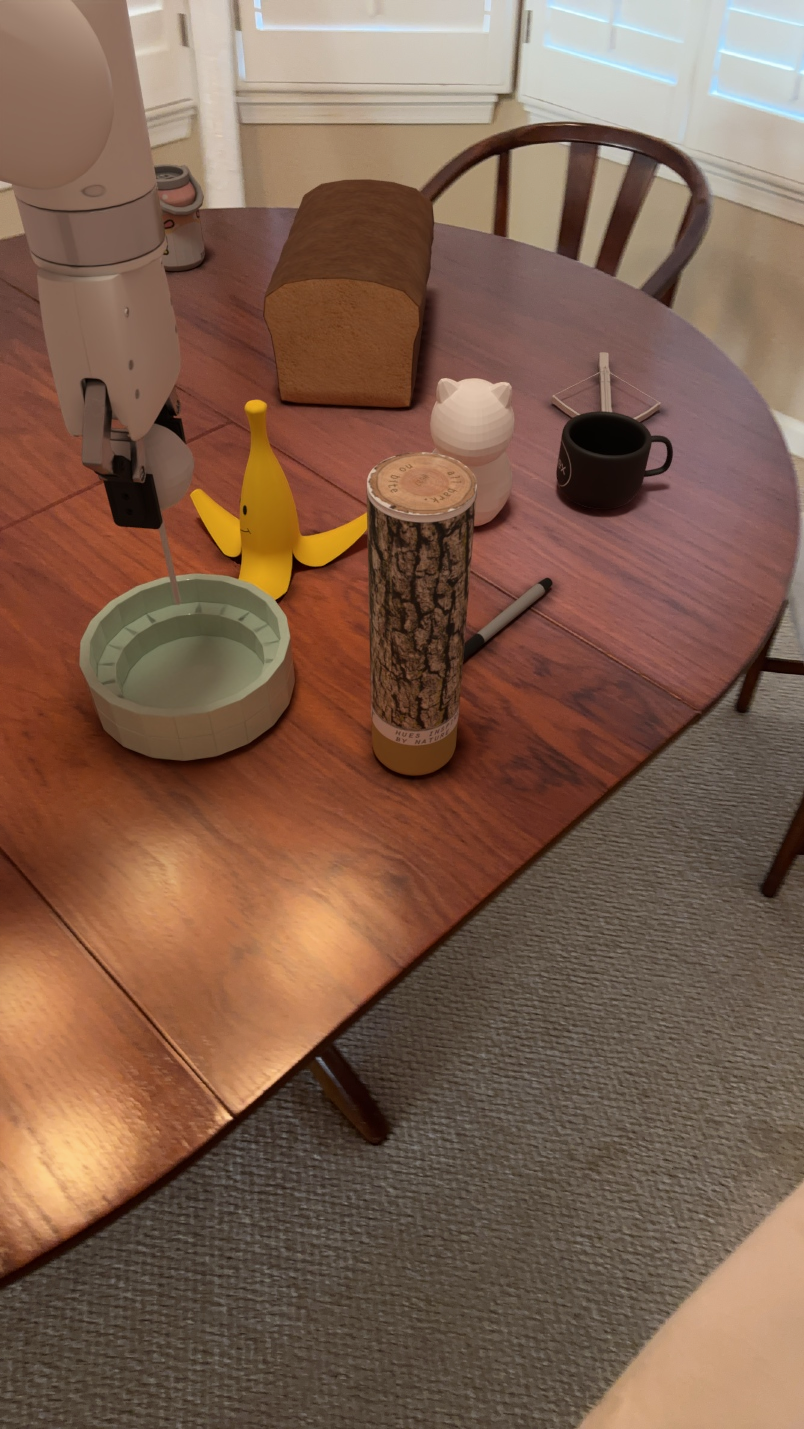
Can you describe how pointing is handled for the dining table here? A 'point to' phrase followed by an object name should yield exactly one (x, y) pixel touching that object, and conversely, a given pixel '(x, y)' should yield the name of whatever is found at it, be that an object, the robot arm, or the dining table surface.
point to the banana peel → (269, 519)
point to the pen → (506, 616)
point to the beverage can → (180, 216)
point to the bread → (351, 295)
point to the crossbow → (604, 391)
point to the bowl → (188, 666)
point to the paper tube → (418, 605)
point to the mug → (605, 459)
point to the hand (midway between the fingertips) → (153, 493)
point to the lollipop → (165, 477)
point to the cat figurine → (477, 437)
